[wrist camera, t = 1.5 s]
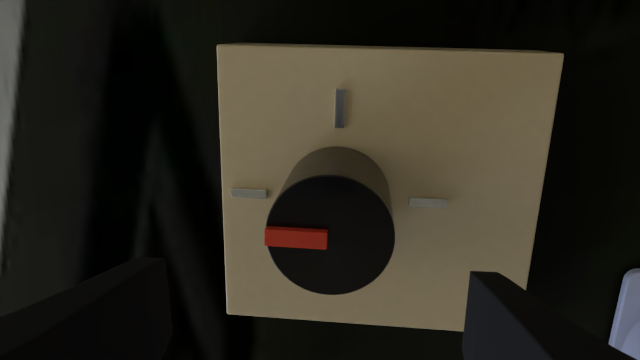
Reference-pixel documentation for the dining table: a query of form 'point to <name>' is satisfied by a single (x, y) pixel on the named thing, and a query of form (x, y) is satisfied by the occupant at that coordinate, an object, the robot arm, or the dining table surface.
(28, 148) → the dining table surface
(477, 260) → the panel
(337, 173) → the knob
